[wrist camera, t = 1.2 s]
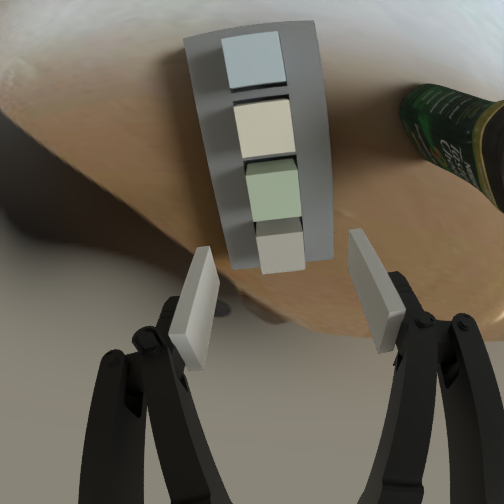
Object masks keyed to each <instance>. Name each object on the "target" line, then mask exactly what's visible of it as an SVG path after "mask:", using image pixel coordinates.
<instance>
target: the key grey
mask: <svg viewBox="0 0 504 504" xmlns="http://www.w3.org/2000/svg"><path fill="white" fill-rule="evenodd" d="M256 240H257V246H258V252H259V258H260V264H261V270H262V274H270V273H279V272H288V271H297V270H305V256H304V240H303V230H302V226H301V222H300V219H299V217H291V218H282V219H273V220H265V221H257V223H256Z"/></svg>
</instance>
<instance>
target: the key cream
mask: <svg viewBox="0 0 504 504" xmlns="http://www.w3.org/2000/svg"><path fill="white" fill-rule="evenodd" d="M233 108H234V113H235V119H236V125H237V130H238V136H239V142H240V147H241V153H242V158H247V157H254V156H261V155H269V154H278V153H286V152H296V151H295V142H294V134H293V126H292V118H291V110H290V103H289V100H288V99H275V100H267V101H259V102H252V103H245V104H238V105H236V106H234V107H233Z"/></svg>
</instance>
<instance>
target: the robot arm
mask: <svg viewBox="0 0 504 504" xmlns="http://www.w3.org/2000/svg"><path fill="white" fill-rule="evenodd" d="M348 271H349V273H350V276H351V279H352V281H353V284H354V286H355V289H356V292H357V294H358V297H359V300H360V302H361V305H362V308H363V311H364V314H365V316H366V319H367V322H368V325H369V328H370V331H371V334H372V337H373V340H374V343H375V346H376V349H377V352H378V354H380V353H385V352H390V351H393V349H394V346H395V343H396V345H397V348H398V353H397V356H396V359H395V361H394V364H393V366H395V370H394V376H393V383H392V388H391V394H390V399H389V404H388V409H387V414H386V418H385V423H384V427H383V431H382V435H381V439H380V443H379V446H378V450H377V453H376V457H375V460H374V463H373V467H372V470H371V473H370V476H369V479H368V482H367V485H366V488H365V490H364V492H363V493H362V495H361V497H360V499H359V501H358V503H357V504H421V503H422V499H423V495H424V487H423V486H422V477H423V473H424V468H425V463H426V458H427V454H428V449H429V443H430V437H431V431H432V424H433V415H434V406H435V396H436V382H437V381H436V380H437V373H438V378H439V383H440V388H441V393H442V400H443V405H444V412H445V419H446V427H447V437H448V448H449V463H450V504H504V409H503V404H502V400H501V396H500V392H499V388H498V385H497V381H496V378H495V374H494V371H493V368H492V365H491V362H490V359H489V356H488V353H487V350H486V347H485V345H484V342H483V339H482V336H481V334H480V331H479V329H478V326H477V324H476V322H475V320H474V318H472V317H471V316H470V315H468V314H465V313H459V314H456V315H455V316H454V317H453V319H452V321H441V320H436V319H435V317H434V316H433V315H432V314H430V313H429V312H426V311H424V310H423V308H422V306H421V304H420V303H419V301H418V299H417V297H416V295H415V294H414V292H413V291H412V288H411V287H410V285H409V283H408V281H407V280H406V278H405V277H404V276H403V275H402V274H401V273H399V272H398V271H395V272H389V273H387V272H386V270H385V268H384V266H383V264H382V263H381V261H380V259H379V257H378V256H377V254H376V252H375V250H374V249H373V247H372V245H371V243H370V242H369V240H368V238H367V237H366V235H365V233H364V232H363V230H362V228H361V229H351V230H349V249H348ZM219 284H220V281H219V278H218V274H217V271H216V267H215V264H214V260H213V256H212V253H211V249H210V246H204V247H197V249H196V252H195V255H194V257H193V260H192V263H191V266H190V269H189V272H188V275H187V278H186V281H185V284H184V287H183V289H182V292H181V295H180V296H173V297H170V298H169V299H168V300H167V301H166V302H165V303H164V306H163V308H162V312H161V314H160V318H159V319H158V322H157V325H156V327H154V326H146V327H143V328H141V329H139V330H138V331H137V332H136V333H135V334H134V336H133V337H132V343H133V344H134V346H135V347H136V349H137V350H138V352H135V353H132V354H127V355H125V354H124V353H123V352H122V351H121V350H117V349H114V350H110V351H109V352H107V353H106V354H105V355H104V356H103V357H102V360H101V362H100V366H99V370H98V375H97V379H96V383H95V387H94V392H93V397H92V401H91V406H90V411H89V417H88V423H87V428H86V434H85V441H84V448H83V455H82V464H81V473H80V485H79V500H78V504H144V447H145V428H146V412H147V406H148V412H149V416H150V422H151V427H152V432H153V436H154V441H155V445H156V449H157V453H158V457H159V461H160V465H161V469H162V472H163V476H164V479H165V483H166V486H167V489H168V493H169V496H170V499H171V504H233V503H232V502H231V501H230V499H229V496H228V494H227V491H226V489H225V487H224V484H223V482H222V480H221V477H220V475H219V472H218V470H217V467H216V465H215V462H214V460H213V457H212V454H211V452H210V449H209V446H208V444H207V441H206V438H205V435H204V432H203V429H202V427H201V424H200V421H199V418H198V415H197V412H196V409H195V405H194V402H193V399H192V396H191V392H190V389H189V386H188V382H187V379H186V376H185V375H184V373H183V372H184V367H185V366H186V367H187V369H188V370H189V371H204V368H205V363H206V356H207V351H208V345H209V339H210V333H211V328H212V322H213V317H214V311H215V306H216V301H217V295H218V289H219Z"/></svg>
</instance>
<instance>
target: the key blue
mask: <svg viewBox="0 0 504 504" xmlns="http://www.w3.org/2000/svg"><path fill="white" fill-rule="evenodd" d="M221 41H222V47H223V52H224V58H225V63H226V69H227V74H228V80H229V85H230V88H232V89H236V88H242V87H249V86H256V85H264V84H272V83H282V82H285V81H286V76H285V70H284V63H283V57H282V52H281V46H280V40H279V35H278V31H274V32H264V33H256V34H248V35H241V36H235V37H229V38H224V39H221Z"/></svg>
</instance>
